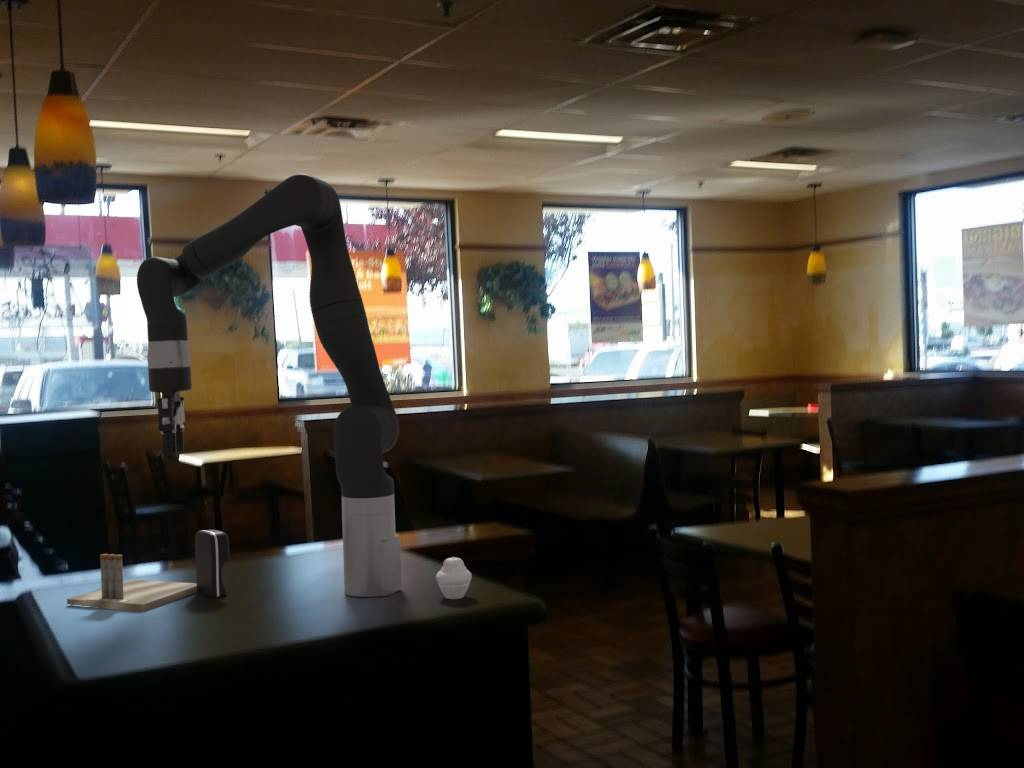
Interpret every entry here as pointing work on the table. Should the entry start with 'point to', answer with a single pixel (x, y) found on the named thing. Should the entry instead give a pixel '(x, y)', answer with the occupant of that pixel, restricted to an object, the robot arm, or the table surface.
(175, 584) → the board
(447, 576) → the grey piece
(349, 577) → the robot arm
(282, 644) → the table surface
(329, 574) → the table surface
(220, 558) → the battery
